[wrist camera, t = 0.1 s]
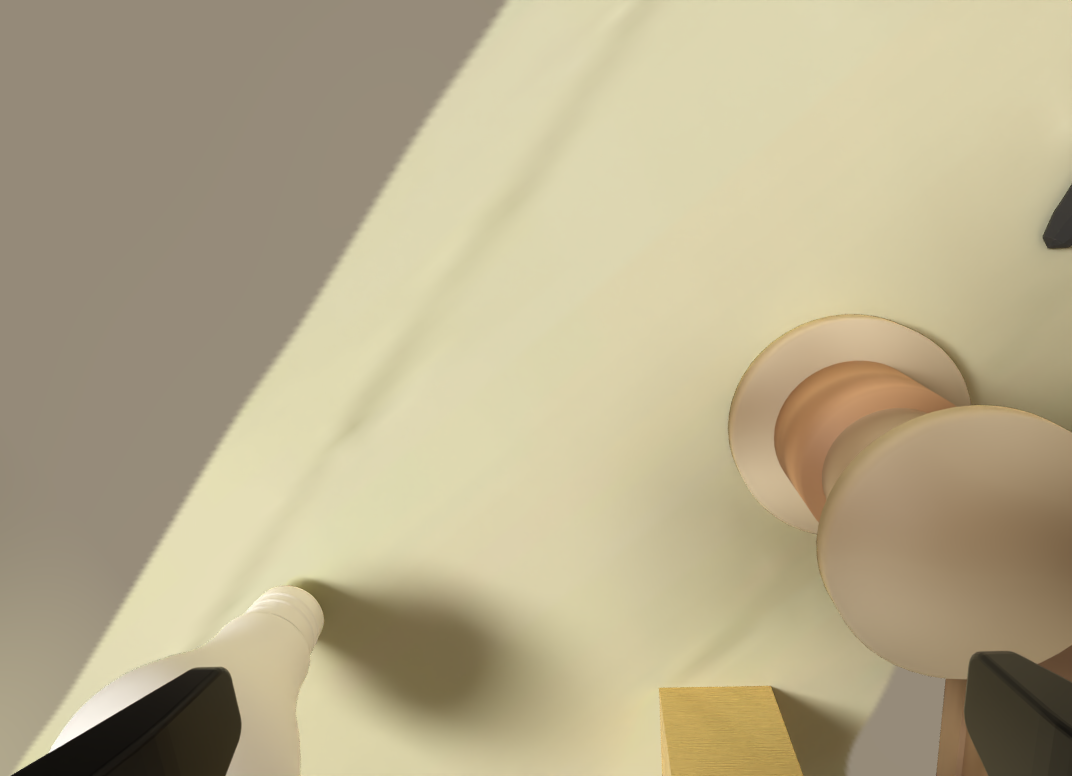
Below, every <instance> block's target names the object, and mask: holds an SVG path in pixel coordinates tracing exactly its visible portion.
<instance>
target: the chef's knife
mask: <svg viewBox="0 0 1072 776" xmlns="http://www.w3.org/2000/svg"><path fill="white" fill-rule="evenodd" d="M1043 239H1044V241H1045V244H1046V246H1047V248H1067V247H1070V246H1071V245H1072V185H1071V186H1070V188H1069V189H1068V191H1067V193H1066V194H1065V196H1064V197H1063V199H1062V200H1061V202H1060V203H1059V205H1058V206H1057V208H1056V209H1055V211H1054V213H1053V215H1052V217H1051V219H1050V221H1049V223H1048V226H1047V228H1046V230H1045V232H1044V235H1043Z"/></svg>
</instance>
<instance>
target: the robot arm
mask: <svg viewBox="0 0 1072 776" xmlns="http://www.w3.org/2000/svg"><path fill="white" fill-rule="evenodd" d="M964 719H965V724H966V728H967V731H968V733H969V736H970V738H971V740H972V742H973V744H974V747H975V749H976V751H977V753H978V755H979V757H980V760H981V762H982V764H983V766H984V768H985V770H986V773H987V775H988V776H1072V682H1071V681H1069V680H1067V679H1065V678H1063V677H1061V676H1059V675H1057V674H1055V673H1054V672H1052V671H1050V670H1048V669H1046V668H1044V667H1042V666H1040V665H1038V664H1036V663H1034V662H1032V661H1030V660H1029V659H1027V658H1025V657H1023V656H1021V655H1019V654H1017V653H1015V652H1011V651H979V652H976V653H974V654H973V655H972V656H971V658H970V661H969V665H968V674H967V684H966V693H965V702H964ZM241 728H242V722H241V715H240V711H239V707H238V703H237V698H236V694H235V690H234V686H233V681H232V677H231V674H230V673H229V671H228V670H227V669H226V668H224V667H196V668H192V669H190V670H188V671H186V672H185V673H183V674H181V675H180V676H178V677H176V678H175V679H173V680H171V681H170V682H168V683H166V684H165V685H163V686H161V687H159V688H158V689H156V690H154V691H153V692H151V693H149V694H148V695H146V696H144V697H143V698H141V699H139V700H138V701H136V702H134V703H133V704H131V705H129V706H127V707H126V708H124V709H122V710H121V711H119V712H117V713H116V714H114V715H112V716H111V717H109V718H107V719H106V720H104V721H102V722H100V723H99V724H97V725H95V726H94V727H92V728H90V729H89V730H87V731H85V732H84V733H82V734H80V735H79V736H77V737H75V738H73V739H72V740H70V741H68V742H67V743H65V744H63V745H62V746H60V747H58V748H57V749H55V750H53V751H52V752H50V753H48V754H46V755H45V756H43V757H41V758H40V759H38V760H36V761H35V762H33V763H31V764H30V765H28V766H26V767H25V768H23V769H21V770H19V771H18V772H16V773H14V774H13V775H11V776H226V774H227V771H228V769H229V766H230V763H231V761H232V758H233V756H234V753H235V750H236V748H237V745H238V742H239V739H240V735H241Z"/></svg>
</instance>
